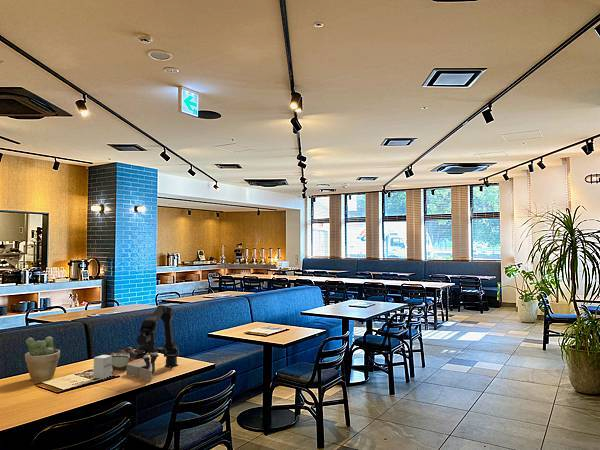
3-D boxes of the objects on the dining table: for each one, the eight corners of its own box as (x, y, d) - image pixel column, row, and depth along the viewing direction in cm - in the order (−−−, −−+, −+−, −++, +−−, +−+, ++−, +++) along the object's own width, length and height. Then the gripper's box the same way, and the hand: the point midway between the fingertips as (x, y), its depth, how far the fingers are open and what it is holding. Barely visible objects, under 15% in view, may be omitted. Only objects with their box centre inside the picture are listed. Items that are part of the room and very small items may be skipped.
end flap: (151, 380, 261) (152, 363, 262) (150, 380, 260) (150, 363, 261) (140, 376, 269) (140, 360, 269) (138, 377, 268) (138, 360, 268)
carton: (143, 369, 285) (143, 360, 286) (155, 372, 279) (155, 362, 279) (126, 374, 275) (126, 364, 276) (138, 377, 269) (138, 367, 269)
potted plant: (48, 372, 280) (49, 332, 281) (66, 377, 270) (67, 335, 272) (17, 380, 264) (18, 337, 265) (36, 385, 255) (36, 340, 256)
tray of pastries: (128, 356, 322) (128, 344, 322) (148, 358, 317) (148, 346, 317) (100, 366, 295) (100, 353, 295) (121, 368, 290) (121, 355, 290)
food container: (133, 368, 289) (133, 352, 289) (128, 371, 283) (128, 355, 283) (115, 368, 290) (115, 352, 290) (110, 370, 284) (110, 354, 284)
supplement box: (103, 379, 264) (103, 358, 265) (93, 378, 267) (93, 357, 267) (112, 376, 271) (112, 355, 272) (102, 375, 274) (102, 354, 274)
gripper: (157, 336, 274) (157, 362, 274) (127, 342, 261) (127, 369, 260) (166, 338, 267) (167, 365, 266) (136, 344, 253) (137, 372, 253)
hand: (149, 368), depth 262 cm, fingers closed
